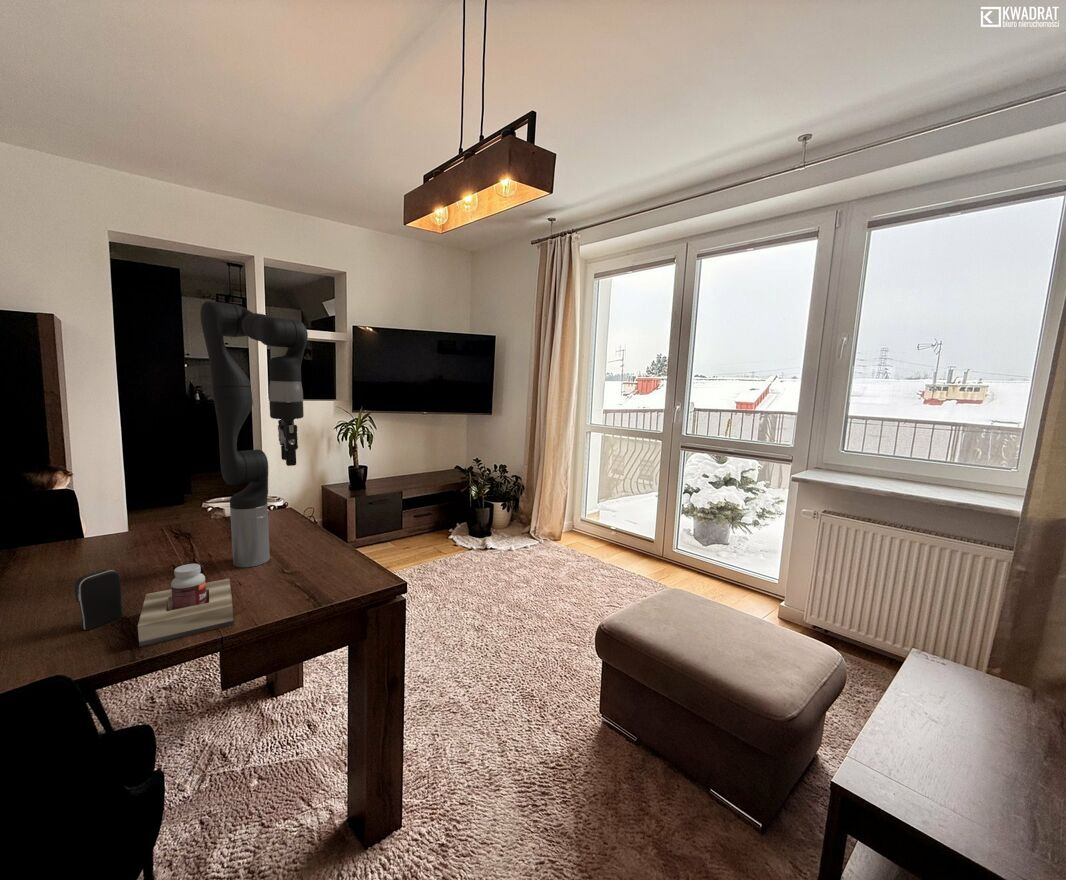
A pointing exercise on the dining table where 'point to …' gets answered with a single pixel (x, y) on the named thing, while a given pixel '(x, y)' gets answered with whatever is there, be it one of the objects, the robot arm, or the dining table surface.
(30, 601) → the dining table surface
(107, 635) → the dining table surface
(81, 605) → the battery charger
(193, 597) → the pill bottle
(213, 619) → the socket block
